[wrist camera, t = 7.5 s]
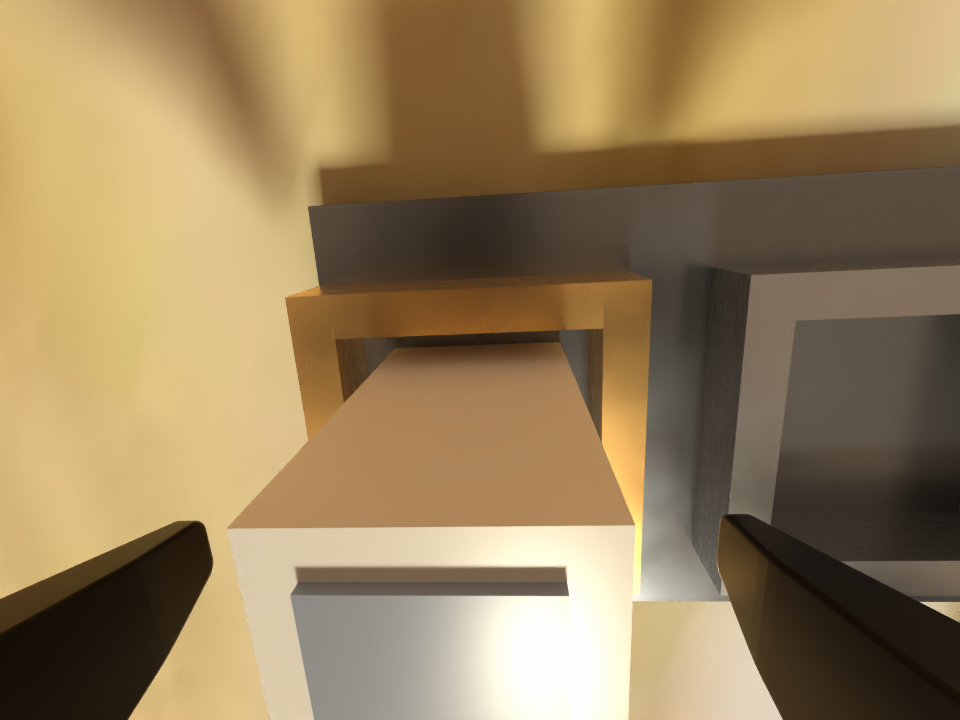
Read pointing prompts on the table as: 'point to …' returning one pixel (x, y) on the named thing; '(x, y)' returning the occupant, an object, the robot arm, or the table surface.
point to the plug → (445, 550)
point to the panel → (695, 349)
